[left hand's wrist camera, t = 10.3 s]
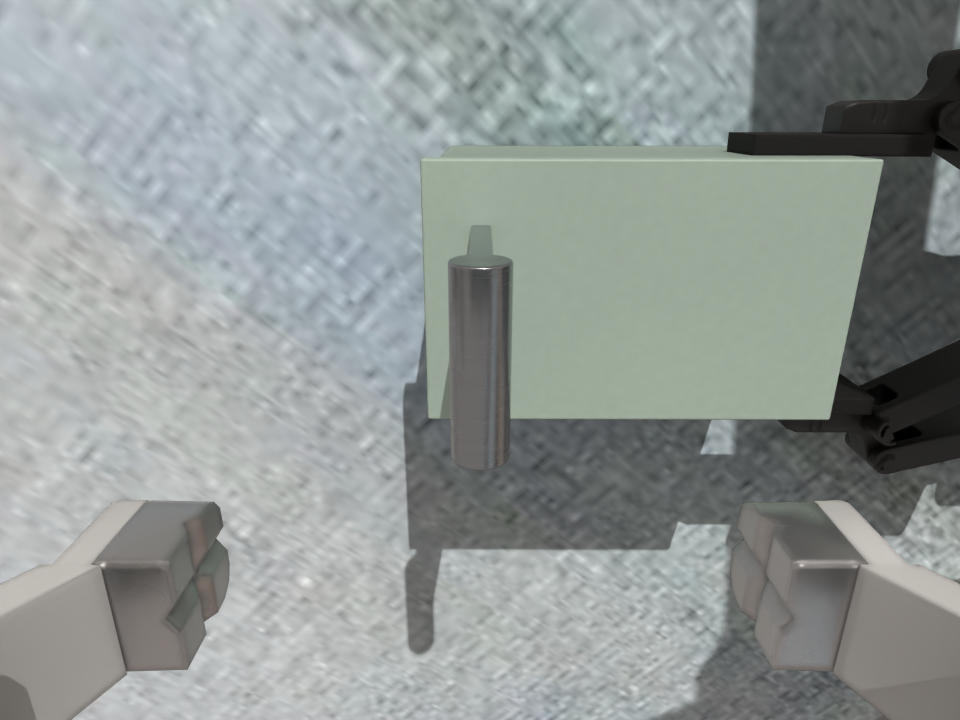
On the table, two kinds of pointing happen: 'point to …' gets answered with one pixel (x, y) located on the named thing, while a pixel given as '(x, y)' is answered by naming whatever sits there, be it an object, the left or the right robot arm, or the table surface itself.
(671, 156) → the chest
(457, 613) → the table surface
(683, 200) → the lid
